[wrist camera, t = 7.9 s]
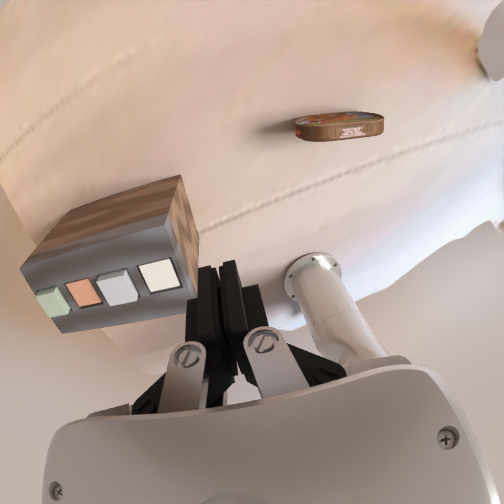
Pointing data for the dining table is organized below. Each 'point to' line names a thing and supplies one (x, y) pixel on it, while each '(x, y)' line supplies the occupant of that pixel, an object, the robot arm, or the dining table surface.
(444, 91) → the dining table surface
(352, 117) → the tin
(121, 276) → the grey key
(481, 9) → the dining table surface
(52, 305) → the sage key
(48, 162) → the dining table surface
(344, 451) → the robot arm
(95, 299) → the terracotta key
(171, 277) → the cream key
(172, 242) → the console
